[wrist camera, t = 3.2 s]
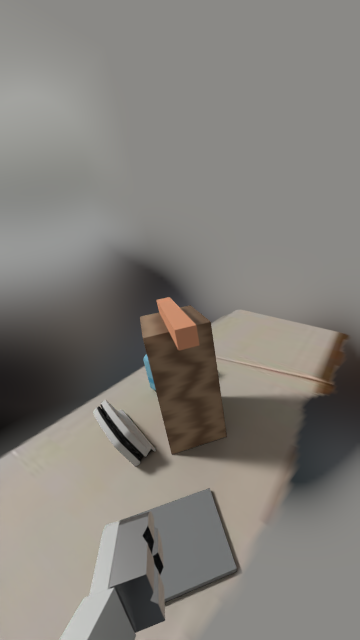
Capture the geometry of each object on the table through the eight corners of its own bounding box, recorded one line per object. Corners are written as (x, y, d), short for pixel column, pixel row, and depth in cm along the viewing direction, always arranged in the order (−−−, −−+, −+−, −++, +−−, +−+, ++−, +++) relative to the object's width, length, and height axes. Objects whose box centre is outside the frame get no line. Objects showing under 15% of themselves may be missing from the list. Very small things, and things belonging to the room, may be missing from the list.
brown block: (171, 454, 44) (142, 338, 36) (162, 409, 57) (140, 316, 50) (226, 436, 46) (210, 321, 38) (205, 396, 59) (190, 305, 51)
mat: (124, 619, 25) (123, 616, 25) (126, 520, 34) (125, 518, 34) (237, 571, 27) (236, 568, 27) (210, 490, 37) (209, 488, 36)
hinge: (157, 451, 46) (131, 425, 41) (140, 471, 44) (111, 446, 39) (125, 412, 59) (103, 389, 54) (111, 427, 57) (87, 404, 52)
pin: (178, 350, 29) (174, 330, 29) (159, 312, 50) (156, 299, 49) (199, 345, 30) (196, 325, 29) (171, 309, 51) (169, 297, 50)
